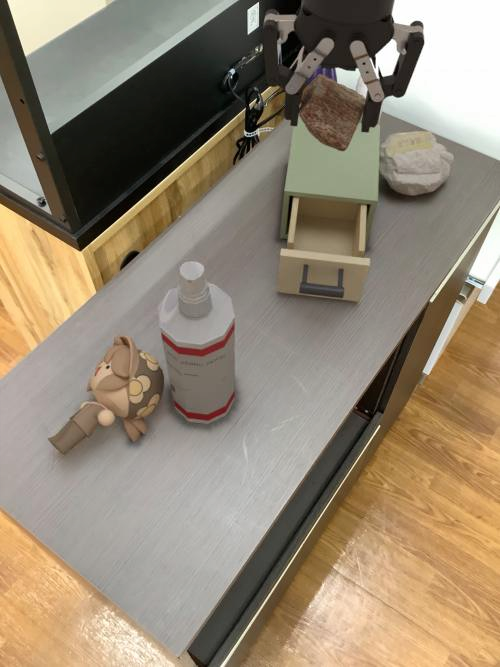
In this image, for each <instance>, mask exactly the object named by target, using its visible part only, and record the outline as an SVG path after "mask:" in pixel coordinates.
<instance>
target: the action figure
mask: <svg viewBox="0 0 500 667" xmlns="http://www.w3.org/2000/svg"><path fill="white" fill-rule="evenodd" d="M163 370H164V369H163V368H162V366H161V363H160V362H159V361H158V360H157V358H155V357H153V356H152V355H151V354H150V353H148V352H147V351H144V350H141V349H138V348H137V345H136V342H135V341H134V340H133V338H131V337H130V336H128V335H127V334H120V335H119V336H113V344H112V346H111V347H110V348H108V349H107V351H106V353H105V354H104V356H103V357H102V358H101V359H100V360H99V362H98V363H97V365H96V367H95V369H94V371H93V373H92V375H91V377H90V379H89V381H88V383H87V387H86V393H89V392H92V394H93V396H94V397H95V399H96V401H93V400H92V401H89V400H86V401H84V402H82V403H81V405H79V409H78V411H76V412H75V413H74V414H72V416H70V417H69V420H68V421H67V422H66V423H65V424H64V425H63V427H62V428H61V429H60V430H59V431H58V432H57V433H56V434H54V435H53V436H51V437H47V441H49V443H50V445H52V446H53V447H54V448H55V449H56V450H57V451H58V452H59V453H60V454H62V455H63V456H65V455H67V454H69V452H70V451H72V450H73V449H74V448H75V447H76V446H78V445H79V444H80V443H81V442H82V441H84V440H85V439H90V437H91V436H92V434H93V432H94V431H95V430H96V428H97V427H98V426H99V425H101V426H104V427H109V426H111V425H113V424H114V422H115V420H116V417H115V416H118V418H120V419H122V421H123V427H124V429H125V432H126V434H127V435H128V437H129V438H130V440H131V441H132V442H133V443H135V442H136V441H137V440H139V438H140V436H141V434H143V435H144V436H145V435H146V434H147V431H148V425H147V421H146V420H145V418H144V417H146V416H148V415H149V414H151V413H152V412H153V411H154V410H155V409H156V408H157V406H158V404H159V402H160V401H161V399H162V396H163V393H164V388H165V374H164V371H163Z"/></svg>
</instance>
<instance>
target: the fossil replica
mask: <svg viewBox="0 0 500 667" xmlns="http://www.w3.org/2000/svg"><path fill="white" fill-rule="evenodd" d="M454 161H455V156H454V154H453V153H452V152H448V150H447V148H446V146H445V145H443V144H442V143H439V142H437V138H436V136H435V135H434V133H433V132H431V131H428V130H427V131H425V130H423V131H421V130H420V131H419V130H415V131H408V132H407V131H406V132H396V133H391V134H389V135H388V137H387V138H386V140H385V141H384V142H382V143H381V144H380V145H379V174H381V175H382V177H383V179H385V180H386V181H387V184H388V186H389V188H390V189H392V190H394V192H397V193H399V194H402V195H407V196H419V195H423V194H427V193H431V192H434V191H436V190H437V189H438V188H440V186H441V185H442V184H444V183H445V181H447V180H448V178H449V176H450V171H451V167H452V166H453V165H454Z"/></svg>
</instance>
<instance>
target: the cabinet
mask: <svg viewBox="0 0 500 667" xmlns="http://www.w3.org/2000/svg"><path fill="white" fill-rule="evenodd" d="M361 124H362V123H358V125H357V128H356V130H355V132H354V135H353V137H352V139H351V142H350V144H349V146H348V148H347V149H346V150H345V151H339V150H337V149H334V148H332V147H329V146H326V145H324V144H322V143H320V142H319V141H318V140H317V139H316V138H315V137H314V136H313V135H312V134H311V133H310V132H309V131H308V129H307V128H306V126H305V124H304V122H303V121H302V119H301V117H300V116H298V124H297V126H292V127H293V129H292V134H291V140H290V141H291V142H290V148H289V155H288V161H287V170H286V176H285V182H284V189H283V199H282V200H283V201H282V212H281V221H280V222H281V223H280V234H279V238H280V239H283V240H288V234H289V226H290V219H291V211H292V204H293V196H299V197H308V198H317V199H326V200H336V201H345V202H354V203H363V204H367V212H366V236H365V248H366V247H367V243H368V239H369V236H370V231H371V228H372V225H373V222H374V217H375V214H376V209H377V206H378V203H379V182H380V181H379V179H380V176H379V175H380V171H379V147H380V146H381V144H380V142H381V140H380V139H381V125H380V124H379V125H376V126H375V128H373V127H370V129H369V133H366V132H361Z"/></svg>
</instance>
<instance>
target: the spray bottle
mask: <svg viewBox="0 0 500 667" xmlns="http://www.w3.org/2000/svg"><path fill="white" fill-rule="evenodd" d="M179 276H180V282H179V284H178V286H176V287H174V288H170V289H169V290H168V291H167V292H166V294H165V296H164V297H163V298H162V299H161V301H160V303H159V304H158V305H157V314H158V322H159V324H158V325H159V329H160V335H161V340H162V346H163V352H164V358H165V363H166V367H167V368H166V370H167V374H168V380H169V384H170V390H171V395H172V401H173V406H174V409H175V411H176V412H177V413H178V414H180V416H182V417H183V418H184V419H185V420H186V421H188V422H189V423H195V424H197V423H198V424H203V425H209V424H212V423H214V422H215V421H218V420H220V419H222V418H224V417H227V415H228V413H229V411H230V410H231V407H232V405H233V404H234V403H235V399H236V375H235V374H236V326H235V325H236V320H235V319H236V316H235V312H234V307H233V302H232V297H231V296H229V294H227V293H226V292H225V291H224V290H223V289H221V288H220V287H219V286H217V284H214V283H209V282H208V281H207V279H206V273H205V266H204V265H203V264H202V263H200V262H199V261H194V260H193V261H192V260H190V261H186V262H183V263H182V264H181V265H180V266H179Z"/></svg>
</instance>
